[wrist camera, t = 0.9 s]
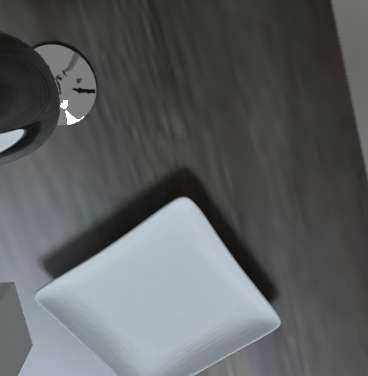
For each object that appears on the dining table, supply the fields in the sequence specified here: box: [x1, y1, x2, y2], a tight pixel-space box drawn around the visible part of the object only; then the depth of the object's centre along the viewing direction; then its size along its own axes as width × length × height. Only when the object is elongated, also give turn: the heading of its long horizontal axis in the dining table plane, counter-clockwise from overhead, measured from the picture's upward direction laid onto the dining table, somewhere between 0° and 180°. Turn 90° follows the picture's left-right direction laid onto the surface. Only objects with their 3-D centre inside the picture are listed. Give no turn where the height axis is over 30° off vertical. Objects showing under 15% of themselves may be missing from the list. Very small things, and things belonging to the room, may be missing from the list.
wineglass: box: [0, 31, 97, 165], centre depth 23 cm, size 8×8×20 cm
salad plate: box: [34, 196, 281, 376], centre depth 40 cm, size 21×21×3 cm
